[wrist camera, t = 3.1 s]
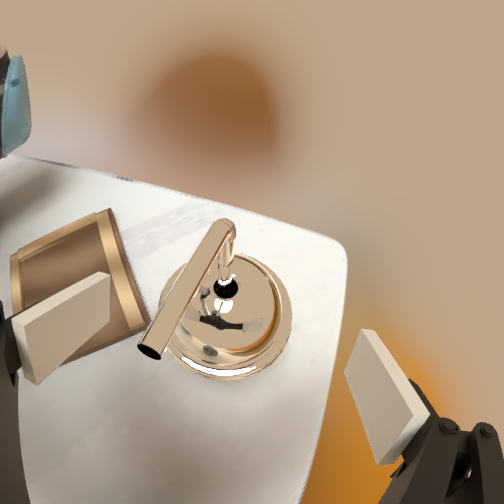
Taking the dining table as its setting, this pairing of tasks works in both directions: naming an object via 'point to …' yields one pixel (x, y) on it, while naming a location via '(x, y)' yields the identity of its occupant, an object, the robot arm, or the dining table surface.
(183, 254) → the dining table surface
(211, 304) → the cup with straw
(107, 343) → the brown flat square tray
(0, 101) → the robot arm
